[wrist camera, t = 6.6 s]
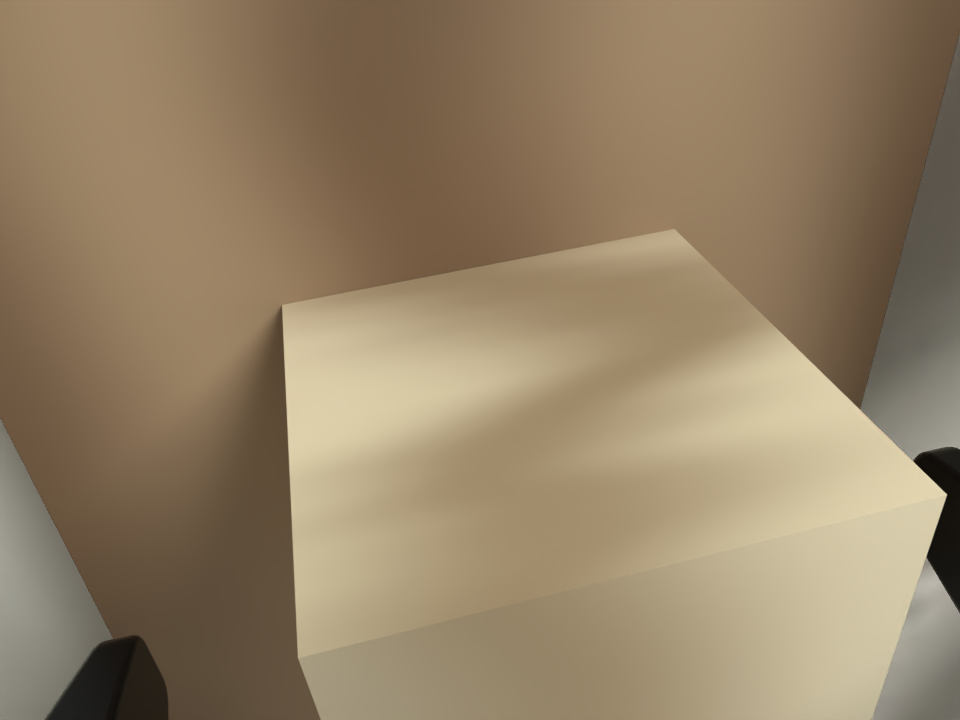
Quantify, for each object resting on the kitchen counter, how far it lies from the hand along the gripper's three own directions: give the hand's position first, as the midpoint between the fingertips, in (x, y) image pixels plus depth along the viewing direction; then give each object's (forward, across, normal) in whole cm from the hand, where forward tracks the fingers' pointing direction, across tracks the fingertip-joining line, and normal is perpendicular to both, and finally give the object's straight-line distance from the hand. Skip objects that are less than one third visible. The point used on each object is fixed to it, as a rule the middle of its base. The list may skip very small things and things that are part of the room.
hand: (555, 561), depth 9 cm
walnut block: (+7, 0, 0) cm, 7 cm away
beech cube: (+3, 0, 0) cm, 3 cm away
